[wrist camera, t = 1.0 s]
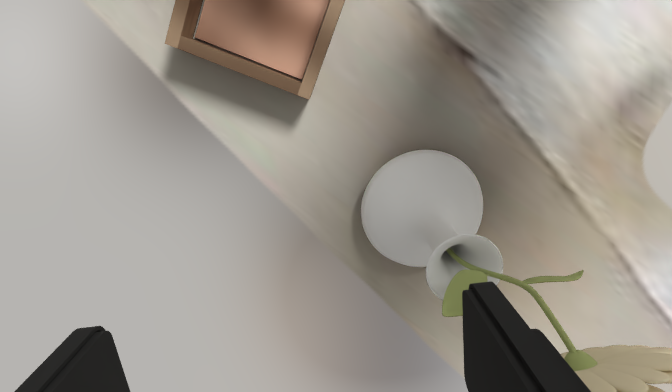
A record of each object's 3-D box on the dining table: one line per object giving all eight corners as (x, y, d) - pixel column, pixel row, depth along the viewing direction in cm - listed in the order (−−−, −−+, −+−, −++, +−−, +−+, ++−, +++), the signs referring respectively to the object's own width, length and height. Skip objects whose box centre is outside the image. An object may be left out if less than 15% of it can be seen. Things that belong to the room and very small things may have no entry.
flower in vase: (355, 255, 41) (396, 512, 17) (364, 142, 38) (432, 263, 14) (483, 261, 41) (698, 519, 17) (503, 150, 38) (801, 280, 14)
